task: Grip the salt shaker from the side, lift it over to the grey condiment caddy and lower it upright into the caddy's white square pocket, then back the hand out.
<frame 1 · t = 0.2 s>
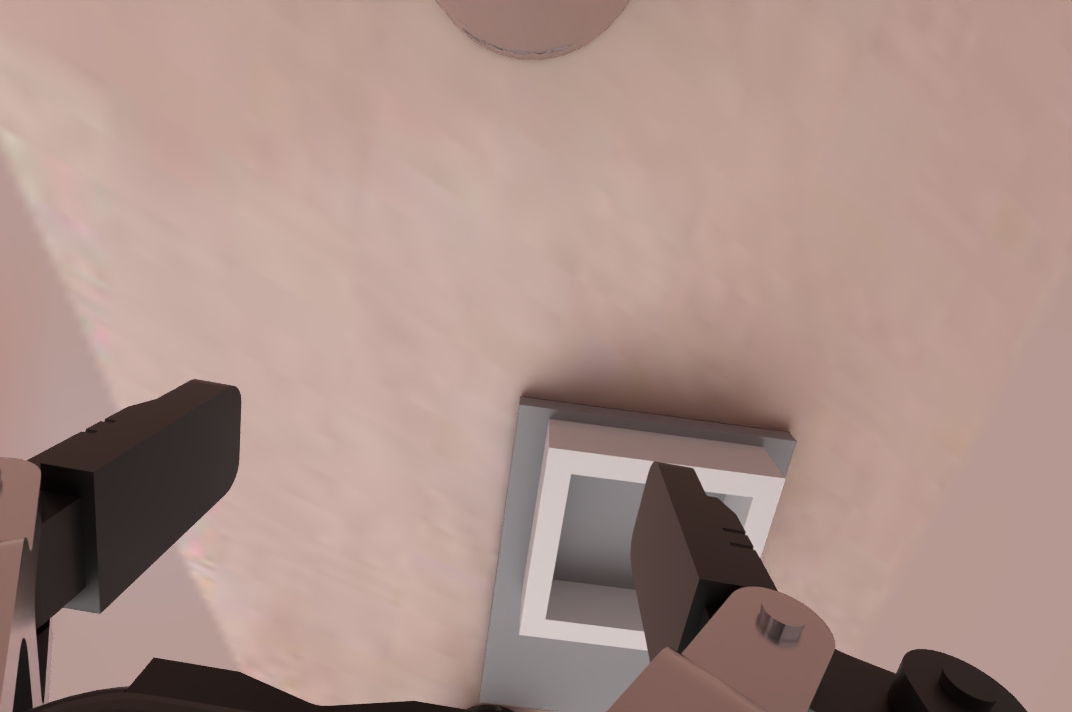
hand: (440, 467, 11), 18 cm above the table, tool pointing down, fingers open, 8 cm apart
caddy: (620, 572, 34), on the table
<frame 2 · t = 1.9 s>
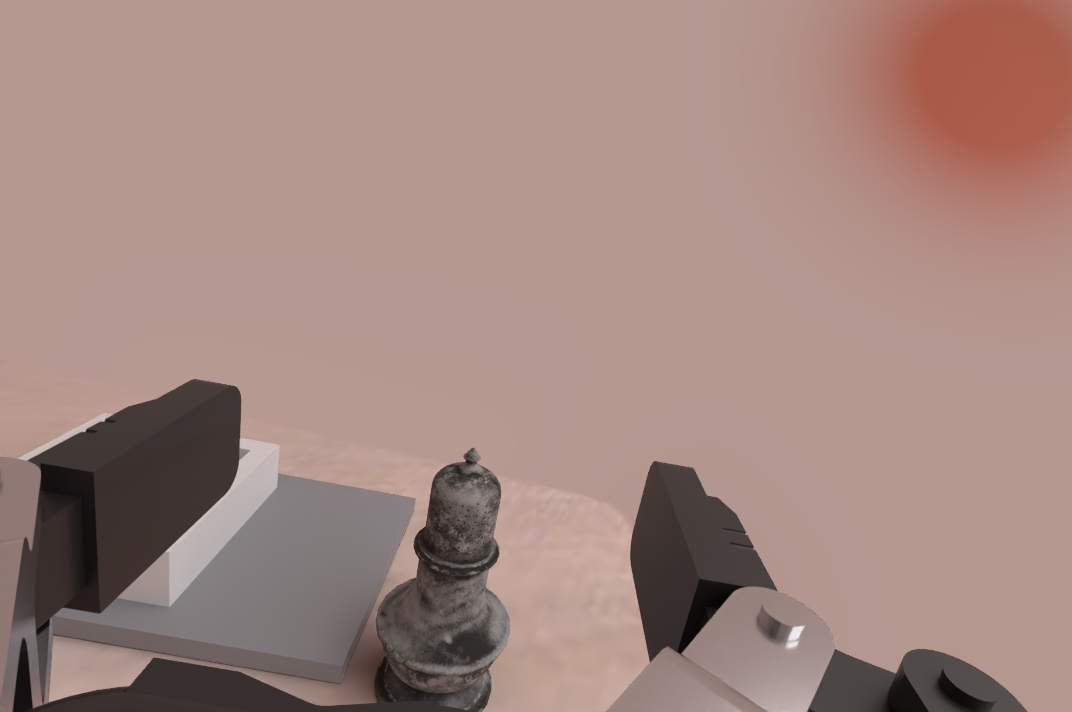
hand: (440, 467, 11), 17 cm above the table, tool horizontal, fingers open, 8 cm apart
caddy: (205, 548, 33), on the table
salt shaker: (433, 684, 27), on the table
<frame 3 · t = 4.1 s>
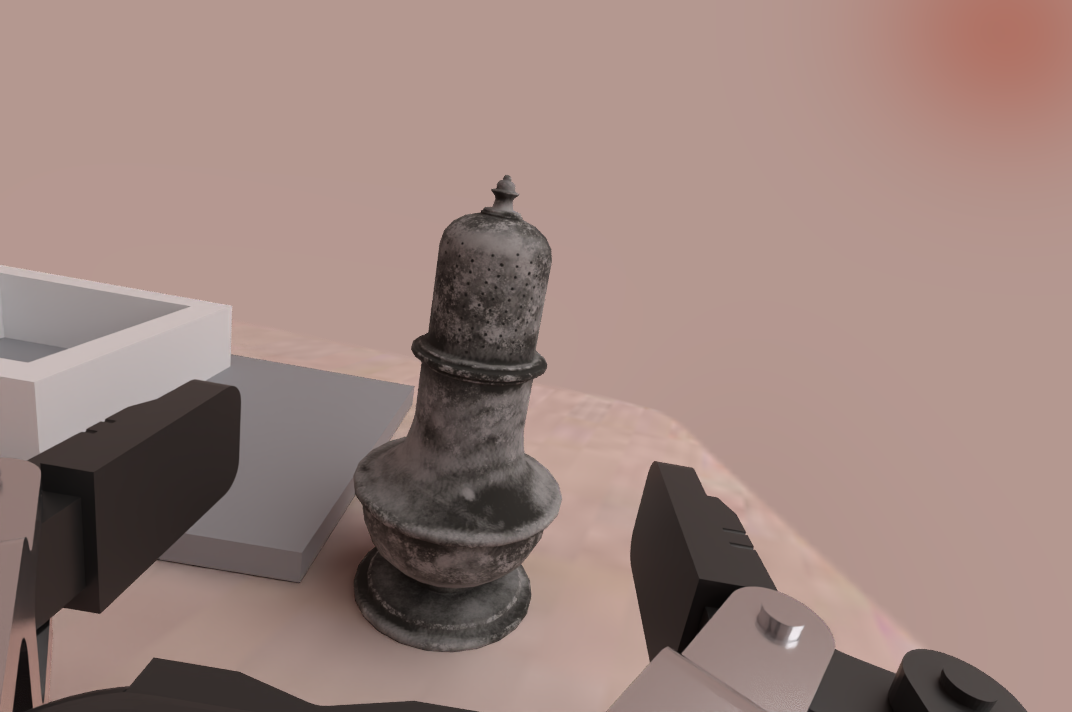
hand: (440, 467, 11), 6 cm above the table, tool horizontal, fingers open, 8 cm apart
caddy: (120, 425, 23), on the table
salt shaker: (443, 589, 18), on the table
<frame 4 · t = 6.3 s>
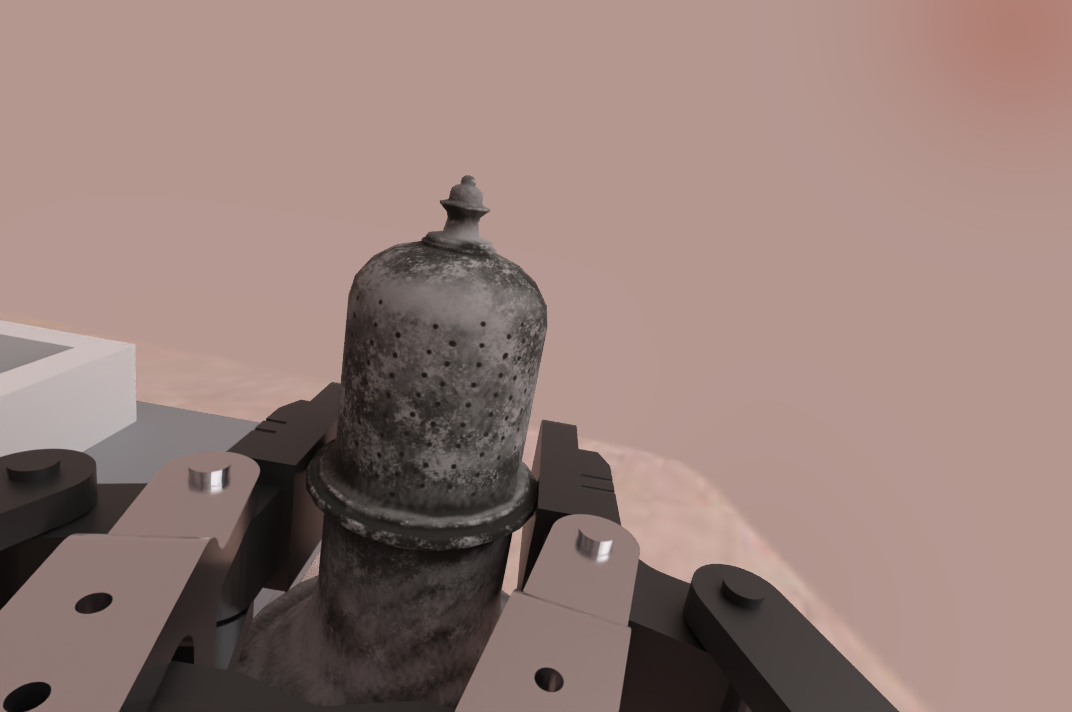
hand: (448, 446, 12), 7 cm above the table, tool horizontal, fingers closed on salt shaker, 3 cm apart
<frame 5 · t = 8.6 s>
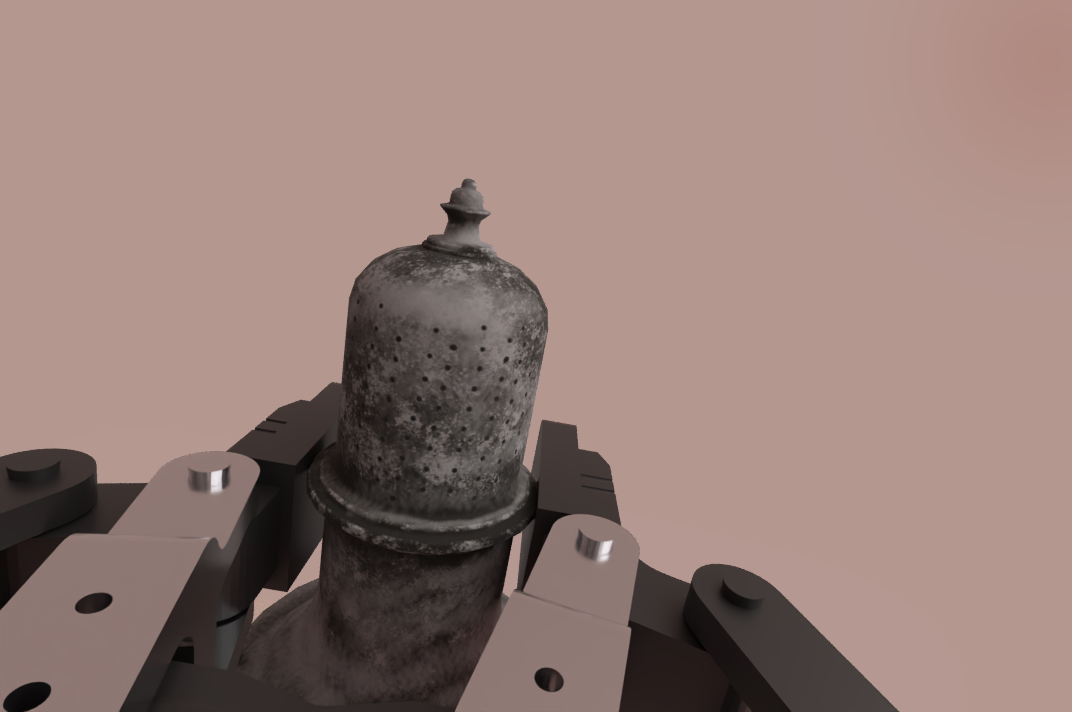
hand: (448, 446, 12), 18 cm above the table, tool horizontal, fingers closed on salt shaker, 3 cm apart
when the fingers open (9 cm above the table, at t = 11.1 s): salt shaker drops 2 cm, resting on caddy.
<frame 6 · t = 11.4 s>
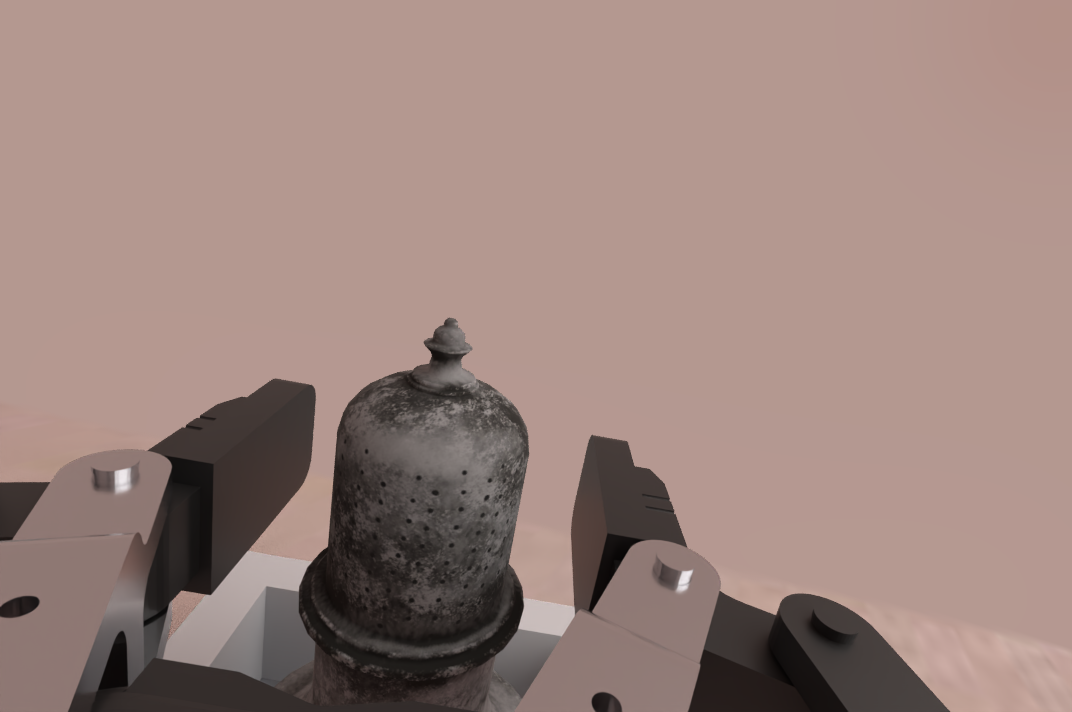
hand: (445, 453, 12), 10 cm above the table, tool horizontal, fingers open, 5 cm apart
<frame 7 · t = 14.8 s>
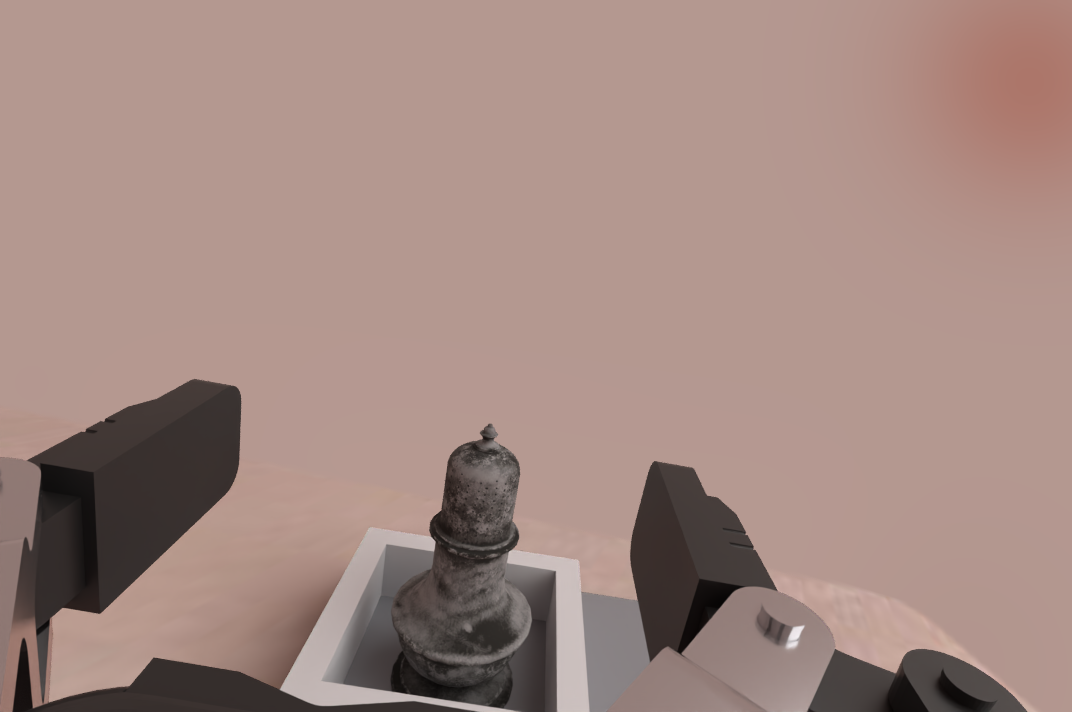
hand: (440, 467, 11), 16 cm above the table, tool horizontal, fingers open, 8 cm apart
caddy: (535, 705, 26), on the table
salt shaker: (452, 681, 26), point 1 cm above the table, touching caddy
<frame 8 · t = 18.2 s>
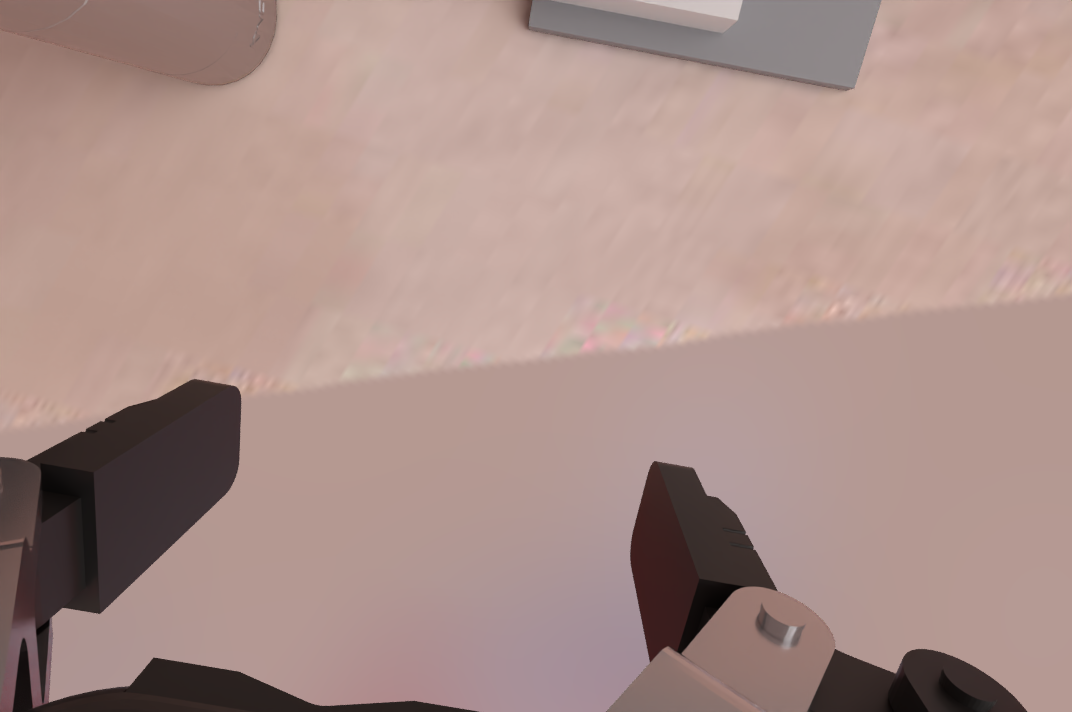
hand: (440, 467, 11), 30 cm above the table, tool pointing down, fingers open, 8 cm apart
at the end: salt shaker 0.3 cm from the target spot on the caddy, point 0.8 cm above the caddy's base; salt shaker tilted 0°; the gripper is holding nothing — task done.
